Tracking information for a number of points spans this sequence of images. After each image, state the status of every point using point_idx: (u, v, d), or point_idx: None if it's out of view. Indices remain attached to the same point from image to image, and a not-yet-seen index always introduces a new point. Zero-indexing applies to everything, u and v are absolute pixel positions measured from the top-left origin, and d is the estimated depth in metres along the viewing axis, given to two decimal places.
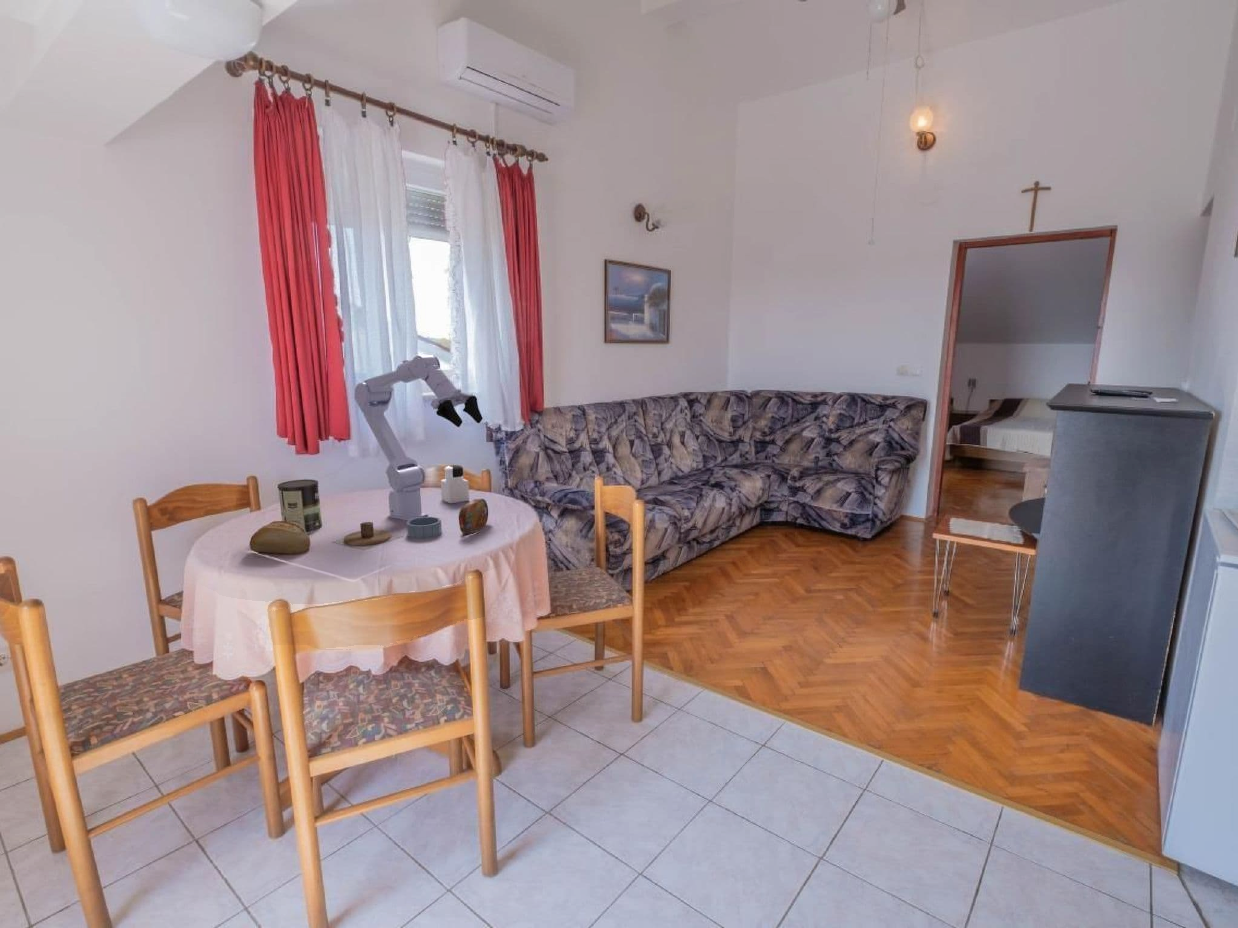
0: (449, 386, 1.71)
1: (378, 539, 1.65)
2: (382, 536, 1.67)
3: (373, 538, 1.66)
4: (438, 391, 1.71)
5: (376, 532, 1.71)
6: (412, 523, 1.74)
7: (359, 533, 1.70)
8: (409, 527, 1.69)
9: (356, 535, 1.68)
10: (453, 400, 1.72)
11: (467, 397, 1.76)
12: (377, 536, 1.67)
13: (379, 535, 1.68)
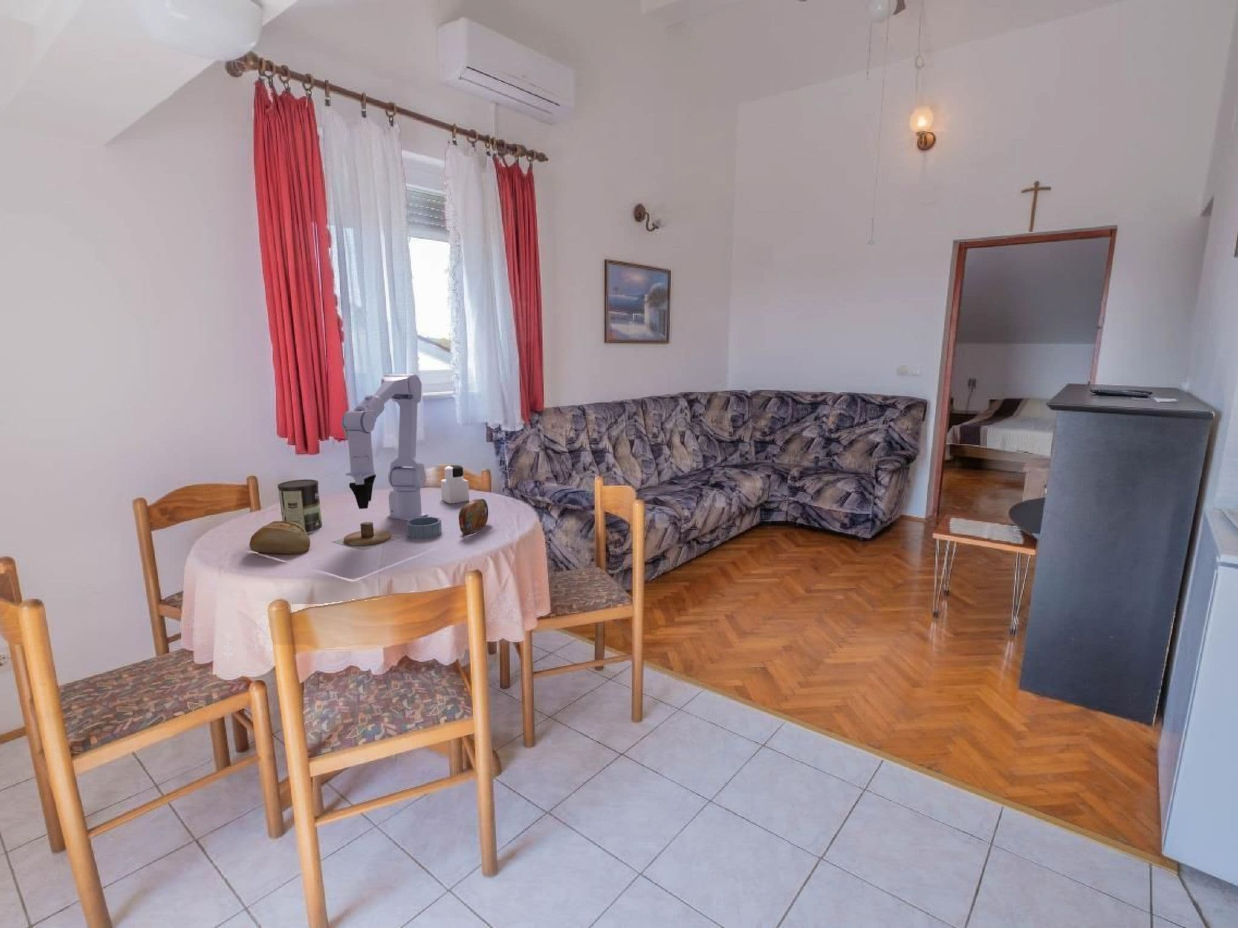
0: None
1: (378, 539, 1.65)
2: (382, 536, 1.68)
3: (374, 537, 1.66)
4: None
5: (376, 532, 1.71)
6: (412, 523, 1.74)
7: (359, 533, 1.70)
8: (409, 527, 1.69)
9: (356, 535, 1.68)
10: None
11: None
12: (377, 536, 1.67)
13: (379, 535, 1.68)
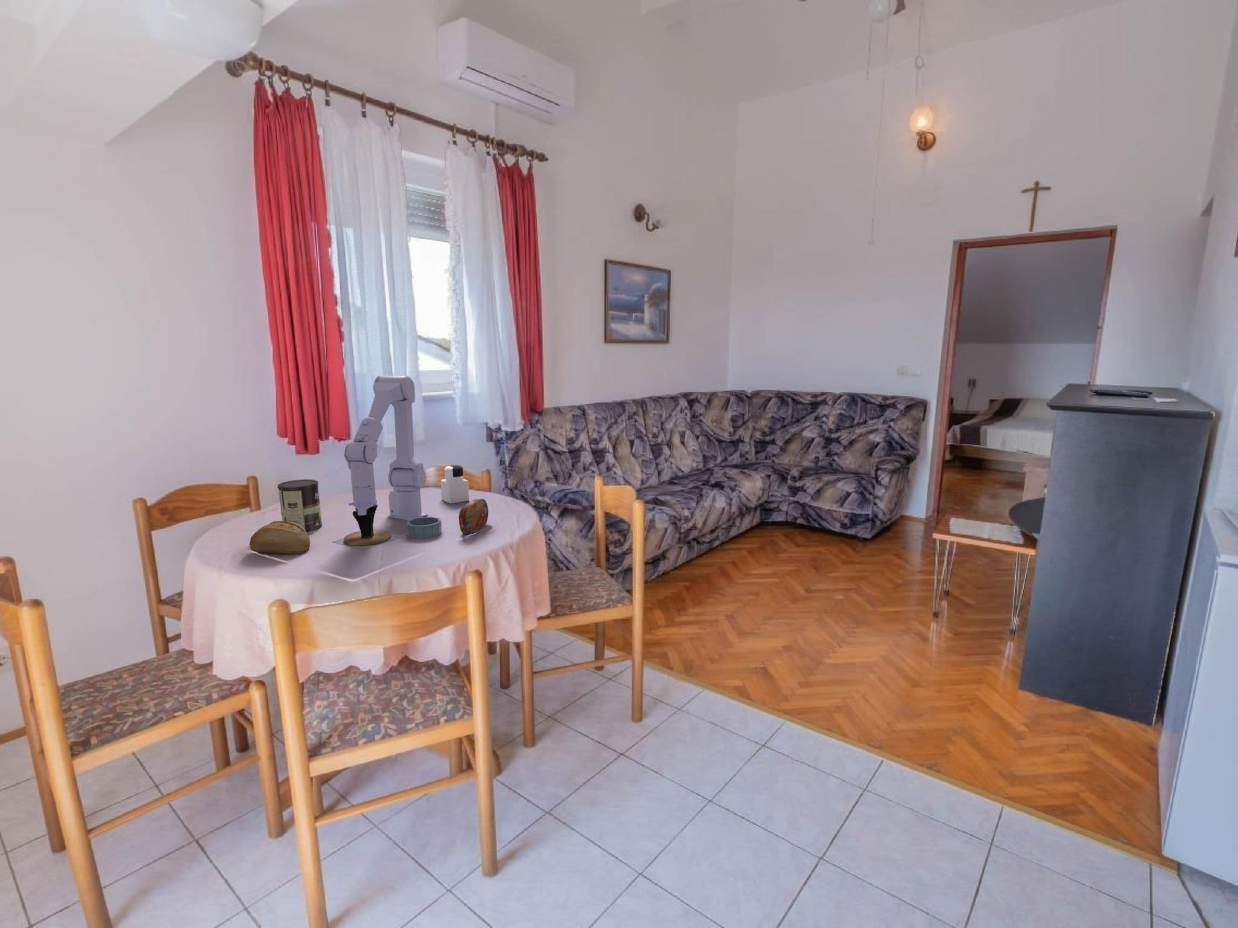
0: None
1: (378, 539, 1.65)
2: (382, 536, 1.68)
3: (374, 537, 1.66)
4: None
5: (376, 532, 1.71)
6: (412, 523, 1.74)
7: (359, 533, 1.70)
8: (409, 527, 1.69)
9: (356, 535, 1.68)
10: None
11: None
12: (377, 536, 1.67)
13: (379, 535, 1.68)
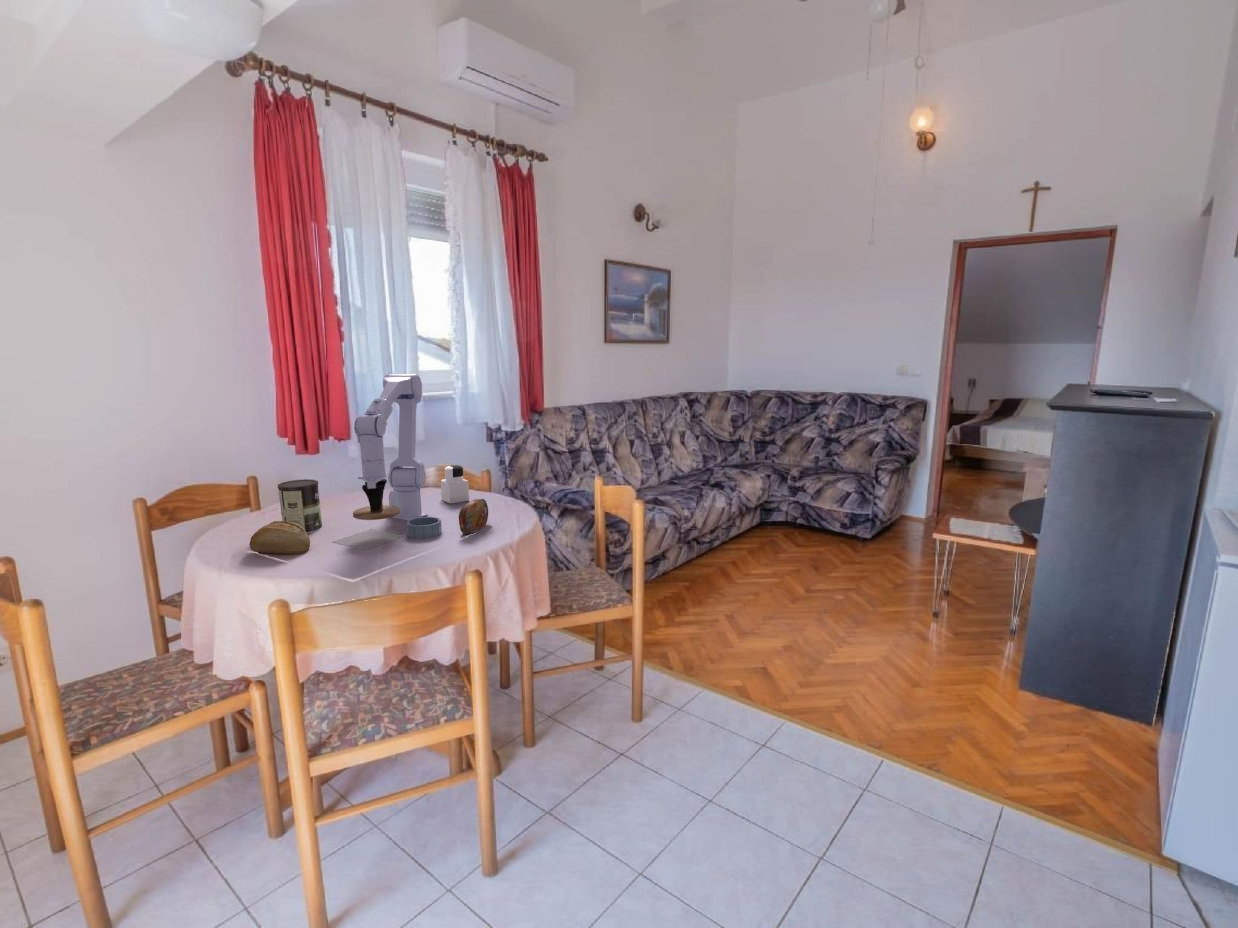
0: None
1: (387, 513, 1.65)
2: (391, 511, 1.67)
3: (383, 512, 1.66)
4: None
5: (385, 507, 1.71)
6: (412, 523, 1.74)
7: (368, 508, 1.70)
8: (409, 527, 1.69)
9: (365, 510, 1.68)
10: None
11: None
12: (386, 511, 1.67)
13: (388, 510, 1.68)
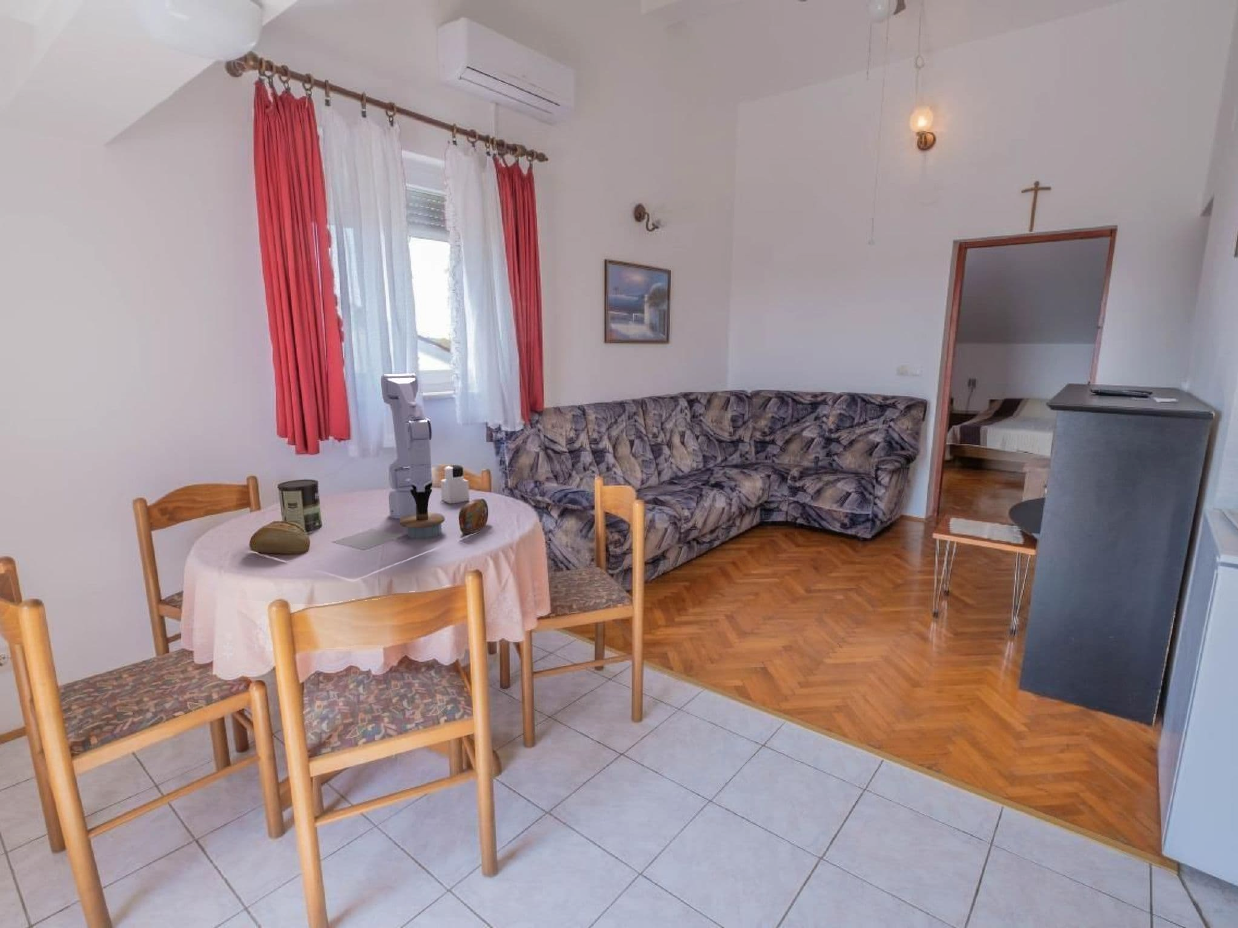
0: None
1: (434, 521, 1.69)
2: (436, 518, 1.72)
3: (429, 520, 1.70)
4: None
5: (429, 515, 1.75)
6: None
7: (413, 516, 1.74)
8: None
9: (411, 518, 1.72)
10: None
11: None
12: (432, 518, 1.72)
13: (433, 517, 1.73)
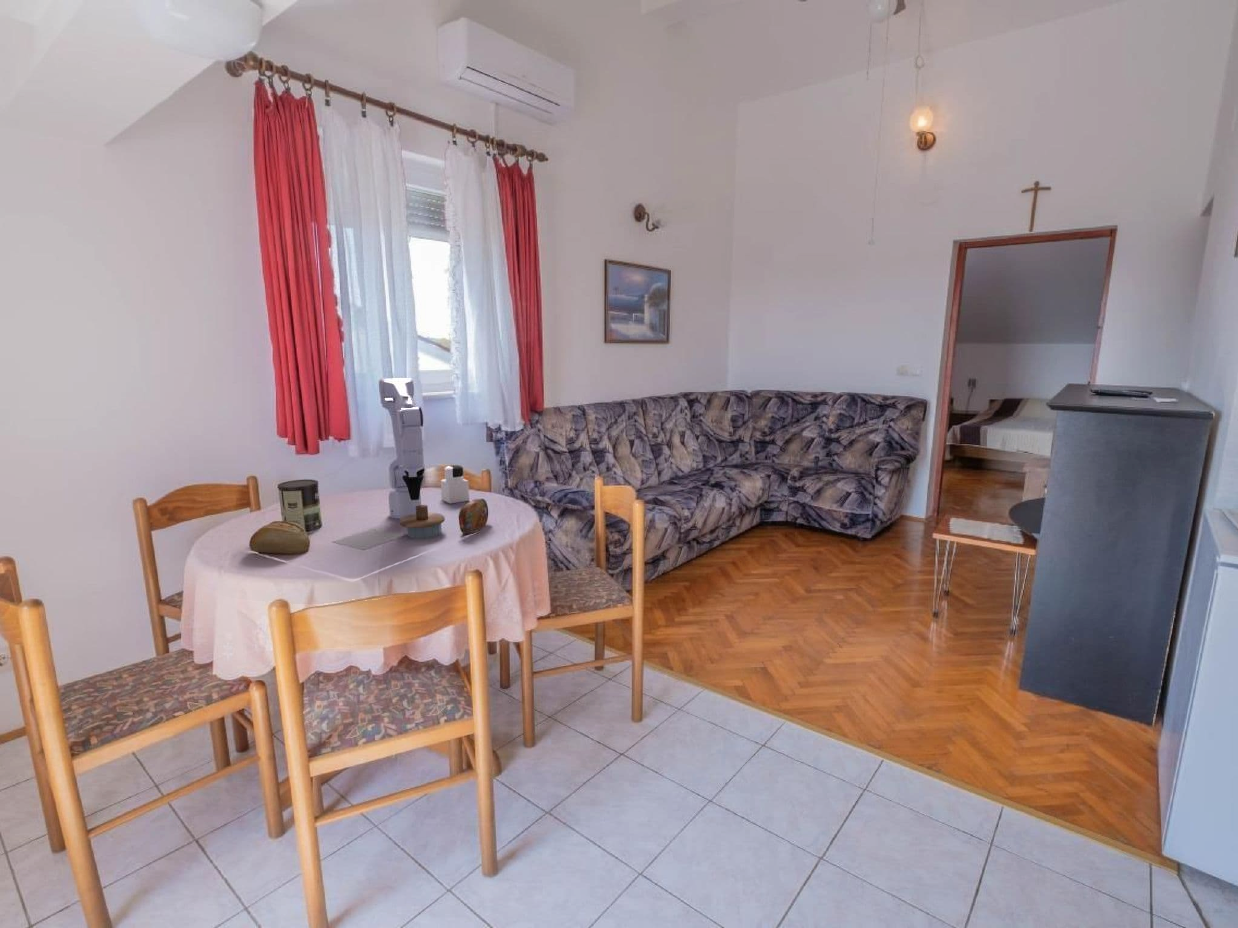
0: None
1: (434, 521, 1.69)
2: (436, 518, 1.72)
3: (429, 520, 1.70)
4: None
5: (429, 515, 1.75)
6: None
7: (413, 516, 1.74)
8: None
9: (411, 518, 1.72)
10: None
11: None
12: (432, 518, 1.72)
13: (433, 517, 1.73)
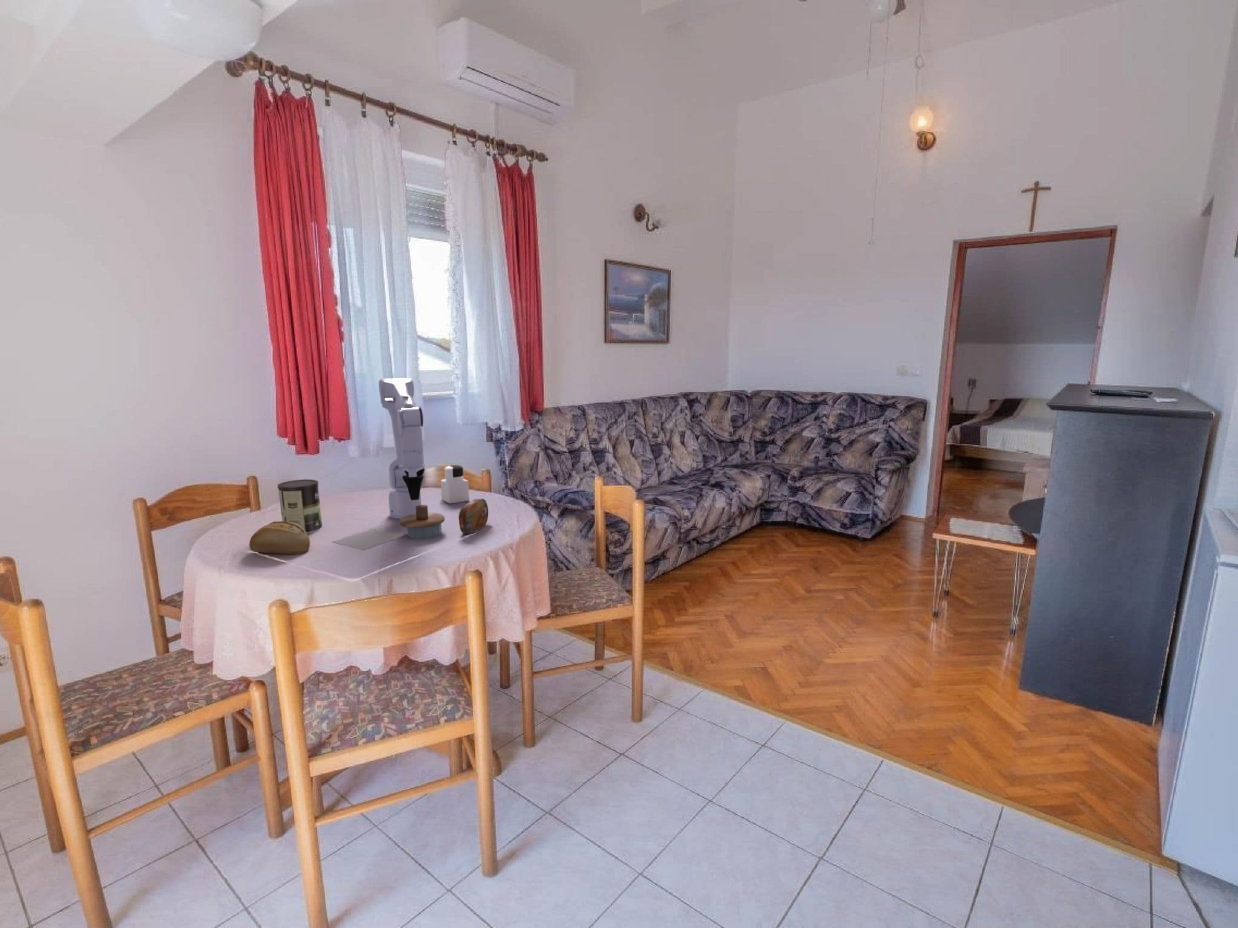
0: None
1: (434, 521, 1.69)
2: (436, 518, 1.72)
3: (429, 520, 1.70)
4: None
5: (429, 515, 1.75)
6: None
7: (413, 516, 1.74)
8: None
9: (411, 518, 1.72)
10: None
11: None
12: (432, 518, 1.72)
13: (433, 517, 1.73)
